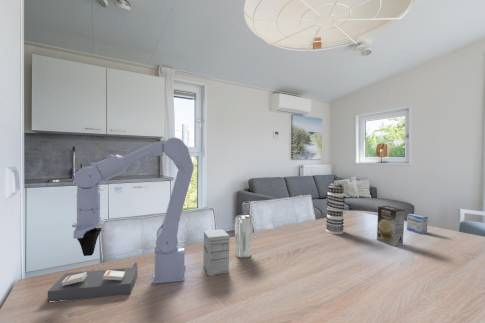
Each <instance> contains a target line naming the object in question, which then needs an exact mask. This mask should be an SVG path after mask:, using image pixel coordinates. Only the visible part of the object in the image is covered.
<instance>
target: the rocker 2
mask: <svg viewBox="0 0 485 323" xmlns="http://www.w3.org/2000/svg"><path fill="white" fill-rule="evenodd" d="M106 270H107V271H106V272H105V274H104V275H103V279H108V280H122V279H123V277H124V275H125V272H124V271H111V270H109V269H106Z"/></svg>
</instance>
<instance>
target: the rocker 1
mask: <svg viewBox="0 0 485 323" xmlns="http://www.w3.org/2000/svg"><path fill="white" fill-rule="evenodd" d="M83 272H84V273H80V274H76V275H72V276H68V277H66V278H65V279H64V280H63V281H62V282H61V283H62V286H64V285H68V284H72V283H76V282H81V281H83V280H84V279H85V278H86V276H87V272H85V271H83Z"/></svg>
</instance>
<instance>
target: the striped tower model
mask: <svg viewBox="0 0 485 323" xmlns="http://www.w3.org/2000/svg"><path fill="white" fill-rule="evenodd" d="M327 189H328V190H327V193H326V196H325V197H326V209H327V214H326V224H325V231H326V233H329V234H332V235H333V234H334V235H342V234H344V227H345V226H344V224H345V222H344V220H345V219H344V212H345V202H346V198H345V197H344V196H345V193H344V189H345V187H344V185H343V184H341V183H338V182H337V183H334V182H332V183H330V184H329V185H328V186H327Z"/></svg>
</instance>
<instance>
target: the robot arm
mask: <svg viewBox="0 0 485 323" xmlns="http://www.w3.org/2000/svg"><path fill="white" fill-rule="evenodd" d="M189 150H190V149H189V148H188V145H186V144H185V143H184V141H183V140H182V139H181V138H178V137H170V138H168V139H167V140H165V139H163V140H160V141H157V142H153V143H150V144H148V145H146V146H144V147H141V148H139V149H137V150H135V151H132V152H131V153H128V154H126V155H124V156H123V155H120V154H114V155H113V154H109V155H107V156H106V158H105V159H103V160H100V161H97V162H95V161H93V162H91V163H90V166H82V167H80V168H78V170H76V171H75V173H74V176H73V181H74V183H75V185H76V222H75V223H73V224H71V227H72V228H75V230H74V231H73V239H76V240H77V241H78V243H79V245H80V247H81V248H80V249H81V252H82V254H83V257H87V256H89V257H91V256H93V255H94V252H95V248H96V244H97V240H98V238H99V236H100V233H101V232H102V227H100V226H101V225H102V224H101V223H102V217H101V188H100V186H101V185H100V183H101V182H105V181H107V180H110V179H112V178H114V177H117V176H119V175H121V174H124V173H126V172H127V168H128V167H129V166H131V165H133V164H136V163H138V162H140V161H143V160H146V159H148V158H150V157H156V156H157V157H163V156H164V154H165V156H166V157H168V158H169V159H170V160H172V162H173V164H174V166H175V167H176V168H177V173H176V175H175V180H174V183H173V186H172V190H171V195H170V196H169V197H170V198H169V201H168V205H167V208H166V212H165V216H164V217H163V220H162V223H161V225H160V226H159V228H157V231H156V240H155V247H154V272H153V276H152V279H151V284H162V283H173V282H175V283H176V282H183V281H185V271H186V264H185V247H180V246H179V245H178V244H179V243H178V242H179V240H178V231H179V225H180V220H181V216H182V212H183V210H184V205H185V201H186V197H187V194H188V190H189V187H190V184H191V180H192V176H193V173H194V169H195V165H194V163H193V160H192V158H191V154H190V152H189Z"/></svg>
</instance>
